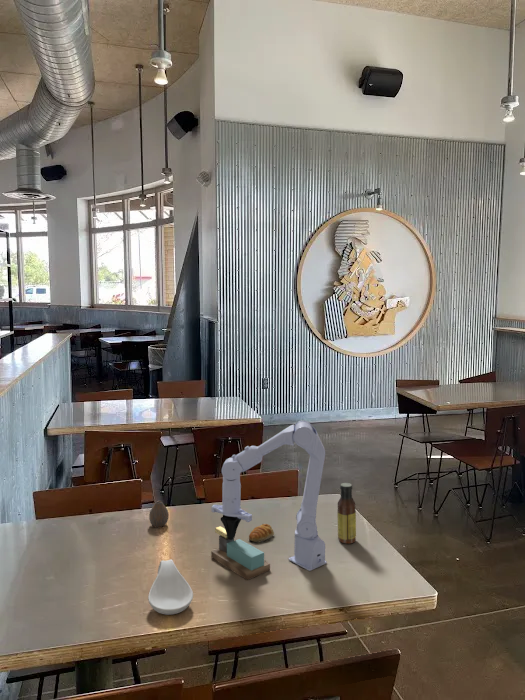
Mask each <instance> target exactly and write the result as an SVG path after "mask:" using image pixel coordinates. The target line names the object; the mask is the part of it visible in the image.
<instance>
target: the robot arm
mask: <svg viewBox="0 0 525 700" xmlns="http://www.w3.org/2000/svg"><path fill="white" fill-rule="evenodd" d="M284 445H288V446H295V445H297V446H298V447H300V448H302V449H303V450H305V452H306V453H307V454H308V455H309V459H308V465H307V470H306V471H307V472H306V476H305V477H306V478H305V483H304V489H303V496H302V500H301V504H300V508H299V509H298V511H297V513H296V514H295V515H296V517H295V519H296V528H295V530H294V553H293V554H294V555H293V556H290V557H288V561H290V562H292V563H293V564H296V565H297V566H299V567H301V568H304V570H307V571H308V572H311V571H313V570H315V569H317V568H320V567H321V566H323V565H326V564H327V563H328V562H327V561H326V543H325V541H324V540H323V539H322V538H321V537H320V536H319V532H318V526H317V522H316V519H317V506H318V501H319V494H320V490H321V489H320V487H321V483H322V477H323V470H324V464H325V459H326V448H325V446H324V444H323V442H322V439H321V438H320V435H319V433H318V432H317V429H316V427H314V426H313V424H311V423H310V422H309V421H307V420H299V421H297V422H296V423H295V424H291V425H289V426H287V427H286V428H284V429H283V430H281V431H280V432H278V433H277V434H275V435H273V436H272V437H270V438H269V439H267V440H266V441H264V442H263V443H261V444H260V445H258V446H256V445H251V446H249V445H247V446H245V447H244V450H242V451H241V452H239V453H237V454H232V456H231V457H229V458H226V459H225V461H224V462H223V464H222V467H221V474H222V487H221V490H222V499H221V500H222V502H221V503H222V504H215V503H214V504H213V505H212V506H211V512H212V513H217V514H218V513H219V514H221V515H222V516H221V517H220V521H221V523H222V525H223V528H224V529H225V530H226V533H227V537H228V539H230V540H232V539H233V538H234V539H235V538H236V533H237V530H238V527H239V525H240V522H241V521H242V520H243V521H245V522H247V523H250V522H251V521H253V514H252V513H249V512H247V511H246V510H244V509H242V507H241V488H242V485H241V473H243V472H246V471H248V470H250V469H251V468H253V467H255V466H256V465H258V464H260V463H261V462H262V461H263V456H266V455H267V454H269V453H271V452H273V451H275V450H276V449H278V448H280V447H282V446H284Z"/></svg>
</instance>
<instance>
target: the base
mask: <svg viewBox="0 0 525 700" xmlns="http://www.w3.org/2000/svg"><path fill="white" fill-rule="evenodd" d="M232 541H235V538H233V539H232V540H230V539H228V538H227V539H226V538H224V537H222V536H221V535H218V548H217V549H215V550H212V551H211V552H210V555H211V558H212V560H213V559H214V560H215V561H216V562H218V563H220V564H221V565H222V566H224V567H226V568H228V570H231V571H232V572H234V573H235V574H237V575H238V576H240V577H242V578H243V579H245V580H246V581H248V580H251V579H253V578H255V577H258V576H260V575H262V574H265V573H267V572H269V571H271V563H269V562H268V561H266V560H264V566H261V567H259V568H257V569H254V570H252V571H251V570H249V569H248V568H246V567H244V566H243V565H241V564H240V563H238V562H236V561H235V560H233V559H231V558H230V557H228V556H227V543H230V542H232Z"/></svg>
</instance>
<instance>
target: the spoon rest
mask: <svg viewBox="0 0 525 700" xmlns="http://www.w3.org/2000/svg"><path fill="white" fill-rule="evenodd" d="M147 597H148V598H147V600H148V604H149V606H150V607H151V608H152V610H154V611H155V612H157V613H159V614H162V615H169V616H170V615H175V614H179V613H181V612H183V611H185V610H186V609H187V608H188V607H189V606H190V605H191V603H192V602H193V598H194V592H193V589H192V588H191V585H190V583H188V581H187V580H186V578H185V577H184V575H182V574H181V572H180V571H179V569H178V568H177V566H176V564H175V562H174V560H173V559H167V560H160V562H159V565H158V569H157V575H156V578H154V581H153V583H152V585H151V587H150V590H149V593H148V596H147Z"/></svg>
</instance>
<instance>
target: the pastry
mask: <svg viewBox="0 0 525 700" xmlns="http://www.w3.org/2000/svg"><path fill="white" fill-rule="evenodd" d="M273 536H275V532H274V529H273V528H272V526H271V525H270V524H268V523H262V524H261V525H258V526H255V527H254V528H253V530H251V532H250V534H249V535H248V540H249V541H251V542H253V543H254V542H255V543H259V542H263V541H267V540H268V539H271V538H273Z"/></svg>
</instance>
